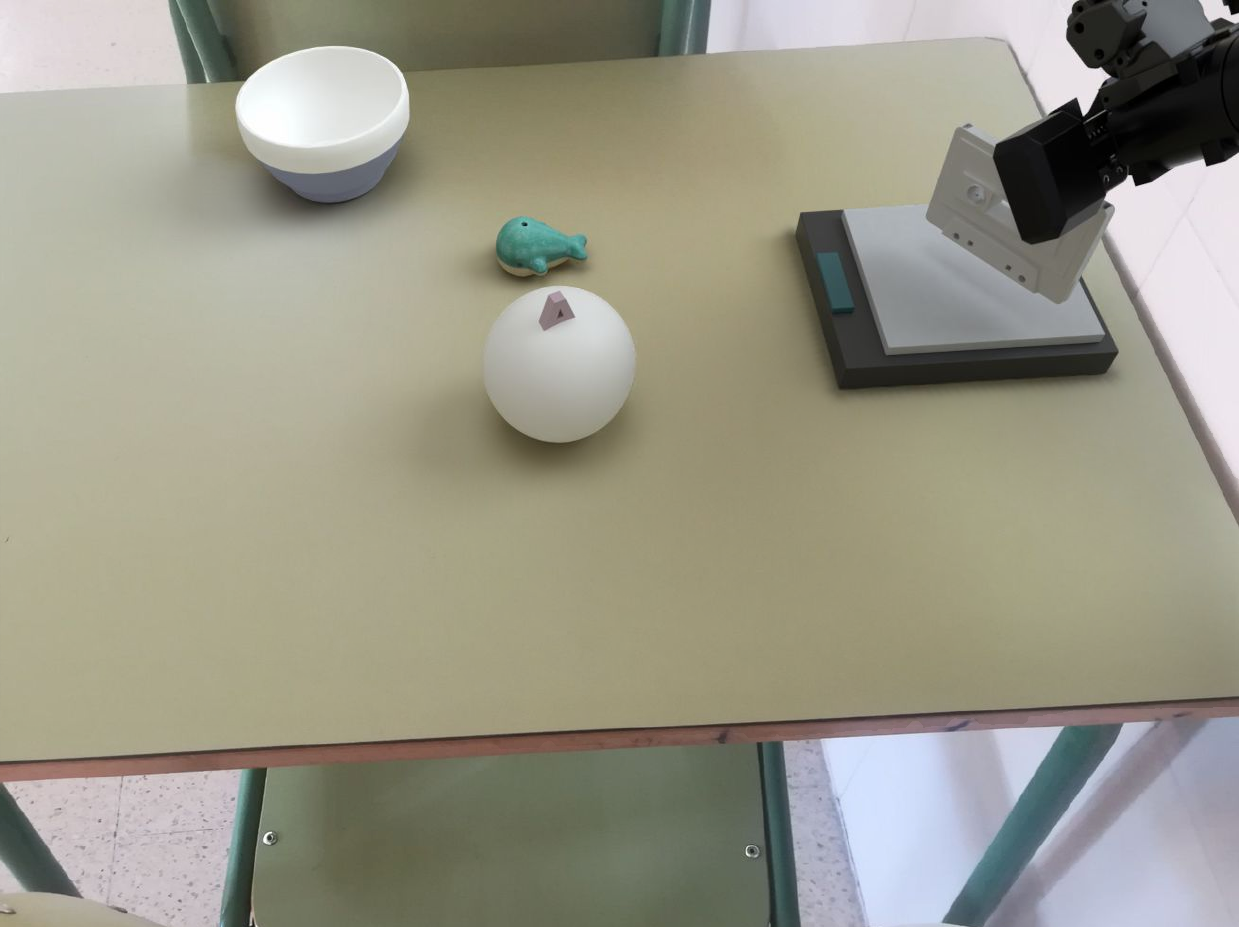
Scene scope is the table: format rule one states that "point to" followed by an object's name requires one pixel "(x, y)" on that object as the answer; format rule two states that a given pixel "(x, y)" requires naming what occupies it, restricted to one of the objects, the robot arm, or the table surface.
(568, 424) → the ornament
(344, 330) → the table surface
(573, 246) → the whale figurine
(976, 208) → the cassette
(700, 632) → the table surface
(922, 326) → the scale
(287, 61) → the bowl
